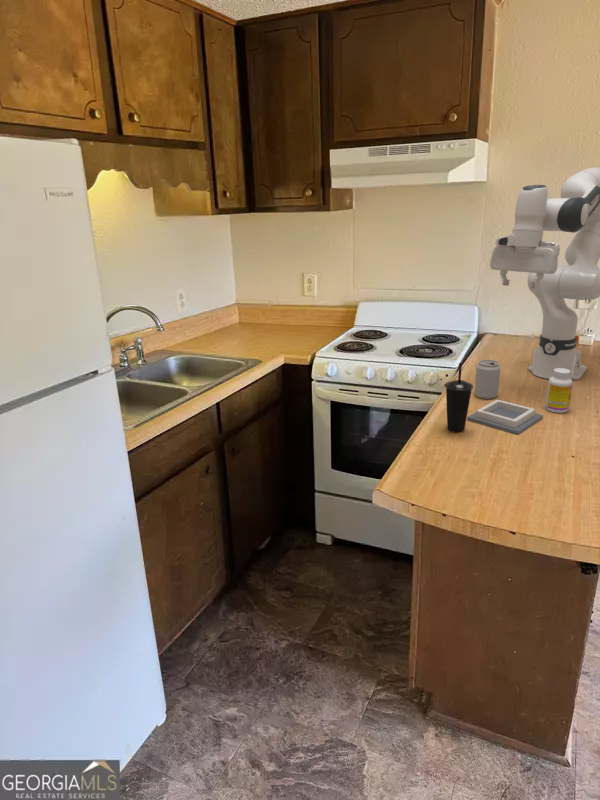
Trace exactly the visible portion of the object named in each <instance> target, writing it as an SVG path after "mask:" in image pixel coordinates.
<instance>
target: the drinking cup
mask: <svg viewBox="0 0 600 800" xmlns="http://www.w3.org/2000/svg"><path fill="white" fill-rule="evenodd" d="M462 367H463V364H462V362H461V363H459V364H458V377H457V379H453V380H450V381H447V382H446V383H444V387H445V393H446V395H445V397H446V427H447V431H449V432H452V433H462V432H464V431H465V428H466V423H467V417H468V412H469V407H470V401H471V395H472V390H473V389H474V385H473V384H472V383H471V382H468V381H467V380H463V379H462Z"/></svg>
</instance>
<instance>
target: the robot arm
mask: <svg viewBox="0 0 600 800" xmlns="http://www.w3.org/2000/svg"><path fill="white" fill-rule="evenodd" d="M548 189H549V188H548V186H547V185H545V184H544V185H543V184H533V185H526V186H525V185H524V186H523V187H521V189H520V191H519V193H518V196H517V199H516V205H515V209H514V211H515V212H514V225H513V227H512V231H511V234H509V235H505V236H502V237H498V238H496V239H495V242H494V243H495V247H494V248H493V250H492V253H491V256H490V257H491V258H490V263H489V266H490V268H491V270H494V271H500V272H499V275H500V278H501V279H502V283H501V285H502V286H507V287H508V286H509V285H510V281H511V280H510V279H508V277H507V275H508V272H509V271H510V272H519V273H520V272H521V273H529V274H528V277H527V286H528V290H530V292H531V293H532V294H533V295H534V296H535V297H536V298H537V300H538V302H539V304H540V307H541V310H542V327H541V328H542V329H541V334H540V335H539V341H538V345H539V346H538V347H536V348H535V349H534V352H533V358H532V362H531V365H528V367H527V370H528V371H531V373H532V374H533V375H535V376H536V377H538V378H544V379H548V380H549V379H550V378H551V377H553V376H554V374H553V372H554V369H556V368H564V369H568V370H570V376H569V378H570V379H571V380H581V378H582V376H583V375H584V374H585V372H586V371H587V369H588V366H587V365H585V364H582V353H581V352H580V351H579V350H578V348H577V343H578V341H579V339H580V337H579V335H576V334H577V327H578V321H579V318H578V315H577V313H576V312H575V311H574V310H573V309H572V308H570V307H569V306H568V305H567V303H566V301H565V299H569V300H574V301H575V300H577V301H589V300H590V301H591V300H596V299H598V298H600V268H599V266H598V263H599V260H600V167H597V166H593V167H587V168H585V169H582V170H579V171H578V172H576V173H575V174H573V175H571V176H570V177H568V178H567V179H566V180H565V181H564V183H563V184H562V186H561V188H560V198H559V197H556V198H552V197H550V196H548V195H549V193H548V192H549V190H548ZM545 231H546V232H565V233H571V234H572V233H576V234H575V235H574V237H573V239H572V240H571V241H570V243H569V245H568V247H567V248H566V250H565V253H564V258H565V259H564V260H565V261H566V263H567V264H568V265H564V264H559V261H558V260H559V256H560V249H561V248H560V245H559V244H557V243H556V242H555V241H550V242H548V241H543V237H544V232H545Z"/></svg>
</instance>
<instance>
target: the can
mask: <svg viewBox="0 0 600 800" xmlns="http://www.w3.org/2000/svg"><path fill="white" fill-rule="evenodd" d="M499 364H500V362H499V361H498V360H495V359H482V360H478V364H476V367H475V369H476V371H475V384H474V395H475V396H476V397H477V398H479V399H483V400H493V399H495V398H496V397H497V396H499V395H498V394H499V385H500V375H501V366H500V365H499Z"/></svg>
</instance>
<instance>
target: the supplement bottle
mask: <svg viewBox="0 0 600 800" xmlns="http://www.w3.org/2000/svg"><path fill="white" fill-rule="evenodd" d="M553 374H554V376H553V377H551V378H550V379H548V383H547V384H548V385H547V393H546V399H545V400H546V401H545V409H546V410H547V411H548V412H550V413H551V412H552V413H555V414H556V413H557V414H561V413H562V414H565V413H567V412H568V411H569V410H570V403H571V395H572V388H573V379H570V378H569V376H570V370H568V369H564V368H556V369H554V372H553Z"/></svg>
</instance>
